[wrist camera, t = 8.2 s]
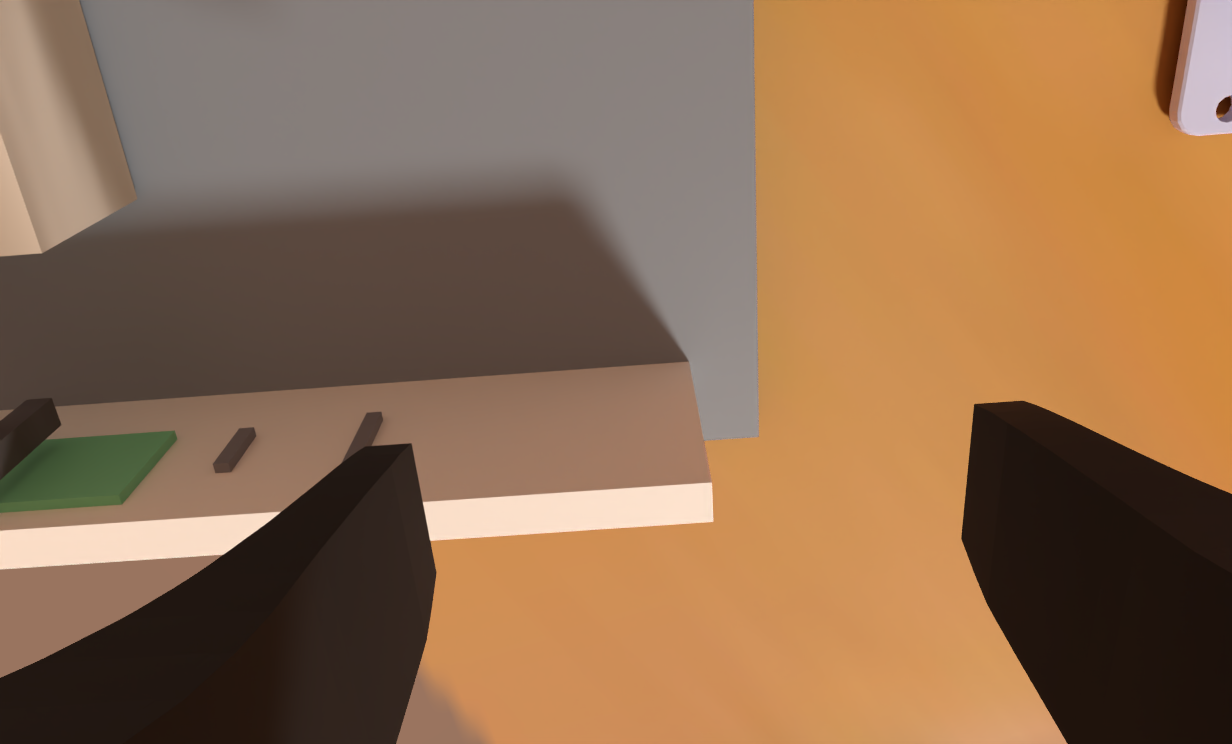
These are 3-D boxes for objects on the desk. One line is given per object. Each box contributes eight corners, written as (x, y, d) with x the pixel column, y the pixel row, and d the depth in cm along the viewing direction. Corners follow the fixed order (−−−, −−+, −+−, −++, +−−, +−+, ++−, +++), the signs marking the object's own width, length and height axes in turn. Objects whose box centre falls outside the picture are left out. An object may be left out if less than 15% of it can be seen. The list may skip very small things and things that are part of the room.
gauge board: (734, -784, 14) (815, -1245, 8) (752, 416, 22) (798, 572, 17) (-673, -643, 14) (-1446, -989, 9) (-136, 478, 23) (-368, 648, 17)
